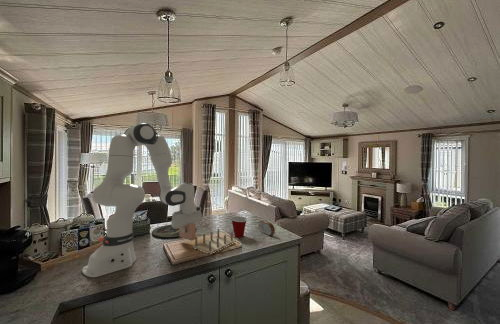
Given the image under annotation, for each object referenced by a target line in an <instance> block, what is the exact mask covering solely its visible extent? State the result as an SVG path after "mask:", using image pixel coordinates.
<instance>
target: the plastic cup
mask: <svg viewBox="0 0 500 324" xmlns="http://www.w3.org/2000/svg"><path fill="white" fill-rule="evenodd" d="M230 219H231V222H232V231H233V233H234V234H233V235H234V238H243V237H244V236H245V229H246V224H247V221H248V218H247V217H244V216H240V215H239V216H237V215H236V216H233V217H232V216H231V217H230Z"/></svg>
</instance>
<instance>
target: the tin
mask: <svg viewBox="0 0 500 324" xmlns="http://www.w3.org/2000/svg"><path fill="white" fill-rule="evenodd" d="M258 230H259V232H260V233H261V234H264V235H266V236H269V237H270V236H273V235H275V233H276V232H275V231H276V230H275V226H274V224H273V223H272V222H269V221H267V220H264V219H263V220H262V219H261V220H260V221H259V222H258Z"/></svg>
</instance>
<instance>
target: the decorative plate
mask: <svg viewBox="0 0 500 324" xmlns="http://www.w3.org/2000/svg"><path fill="white" fill-rule="evenodd" d="M196 232H197V227H196V226H195V233H196ZM151 236H152V237H153V238H154V239H159V240H174V239H175V240H177V239H182V237H180V236H179V228H173V227H172V226H171V224H166V225H161V226H159V227H155V228H154V229H153V230H152V231H151Z"/></svg>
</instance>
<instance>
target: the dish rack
mask: <svg viewBox="0 0 500 324" xmlns="http://www.w3.org/2000/svg"><path fill="white" fill-rule="evenodd" d="M209 233H210V238H209V239H207V240H206V234H205V233H203V235H202V241H201V242H199V243H198V237H197V236H195V240H194V241H195V242H194V243H195V244H193V245H192V249H193V248H196V249H199V250H202V251H205V252H209V253H211V254H212V253H213V252H215V251H218V250H220V249H222V248H224V247H226V246H228V245H230V244H232V243H234V242H235V243H236V240H234V239H233V235H234V234H233V233H234V231H231V232H230V238H227V235H226V234H223V236H220V228H217V232H216V233H217V236H214V237H213V231H210V232H209ZM228 247H229V246H228ZM226 248H227V247H226ZM196 249H195V250H196ZM224 249H225V248H224ZM199 250H198V251H199ZM222 250H223V249H222ZM202 251H201V252H202ZM220 251H221V250H220ZM205 252H204V253H205ZM218 252H219V251H218ZM211 254H210V255H211ZM212 255H213V254H212Z"/></svg>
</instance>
